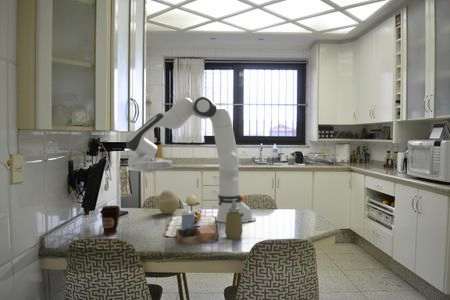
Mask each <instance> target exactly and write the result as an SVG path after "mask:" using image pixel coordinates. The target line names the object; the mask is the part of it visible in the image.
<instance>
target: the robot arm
mask: <svg viewBox="0 0 450 300" xmlns="http://www.w3.org/2000/svg"><path fill="white" fill-rule="evenodd" d="M192 116H195V117H198V118H200V119H205V120H206V119H209V120H210V121H211V126H212V130H213V136H214V137H213V138H214V142H215V147H216V154H217V159H218V164H219V165H218V167H219V168H218V174H219V177H218V196H217V204H218V205H217V208H218V209H217V213H216V217H215V221H216V222H220V223H225V224H226V217H227V213H228V212H229V208H230V207H231V206H232V201H233V200H235V201H236V206H237V207H238V208H239V212H240V213H241V219H242V222H244V223H249V222H248V221H252V222H256V221H257V219H256V217H255V216H254V215H252V209H251V207H249V206H248V205H247V204H246V203H245V202H243V201H244V200H245V197H244V196H243V195H240V194H239V183H240V182H239V164H240V157H239V153H238V147H237V144H236V139H235V138H236V137H235V133H234V132H235V131H234V126H233V123H232V119H231V116H230V113H229V110H228V109H227V108H225V107H222V106H221V107H217V105H216V104H215V103H214V102H213V100H211V99H210V98H209V97H207V96H201V97H200V96H199V97H198V98H196V99H195V100H194V101H193V100H192V99H191V98H189V97H185V96H184V97H182V98H180V99H179V100H178V101H176V102H175V104H173V105H172V106H171V108H170V109H169V110H167V111H166V112H160V113H157V114H155V115H154V116H152V117H151V118H150V119H149V120H147V121H146V122H145V123H144V124H143V125H141V126H140V127H138V128H137V129H136V130H134V131H133V132H132V133H130V134H129V135H128V136H127V137H126V139H125V144H126V147H127V149H128V150H131V151H132V152H134V153H136V154H134V155H132V156H130V157H129V158H128V160H127V166H128V167H129V168H130V169H131V170H133V171H136V172H141V173H146V174H147V173H148V174H150V173H152V172H156V171H160V170H161V171H162V170H164V169H172V168H173V163H174V162H173V161H172V160H170V159H164V158H162V157H157V156H158V153H159V148H158V145H156V144H155V143H154V142H152V141H151V140H149V139H148V138H146V136H147V135H148V134H149V133H150V132H151V131H153V130H154V129H155V128H158V127H162V128H167V129H170V130H177V129H179V128H181V127H182V126H183V125H184V124H185V123H186V122H187V121H188V119H190V117H192ZM255 220H256V221H255Z"/></svg>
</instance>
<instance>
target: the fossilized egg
mask: <svg viewBox="0 0 450 300" xmlns="http://www.w3.org/2000/svg"><path fill="white" fill-rule="evenodd" d="M179 204H180V201H179V197H178V195H177V194H176V192H175V191H174V190H173V189H170V188H169V189H165V190H163V191H162V192H161V193H160V194H159V196H158V198H157V207H158V209H159V211H160V213H161V212H162V213H163V214H165V215H171V214H174V213H175V212H176V211H177V209H178V208H179Z"/></svg>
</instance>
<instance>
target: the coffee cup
mask: <svg viewBox="0 0 450 300" xmlns="http://www.w3.org/2000/svg"><path fill="white" fill-rule="evenodd" d="M120 211H121V209H120V208H119V205H106V206H102V207H101V212H100V213H101V223H102V224H101V225H102V229H103V231H102V233H103V235H105V236H110V235H111V236H113V235H117V234H118V225H119V223H120V222H119V221H120V213H121V212H120Z"/></svg>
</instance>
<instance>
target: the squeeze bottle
mask: <svg viewBox="0 0 450 300" xmlns="http://www.w3.org/2000/svg"><path fill="white" fill-rule="evenodd" d="M224 233H225V235H226V239H228V240H231V241H232V240H233V241H236V240H240V239H242V238H241V237H242V234H243V223H242V219H241V213H240V212H239V208H238V207H237V206H236V201H235V200H233V201H232V206H231V207H230V208H229V212H228V213H227V217H226V223H225V229H224Z"/></svg>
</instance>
